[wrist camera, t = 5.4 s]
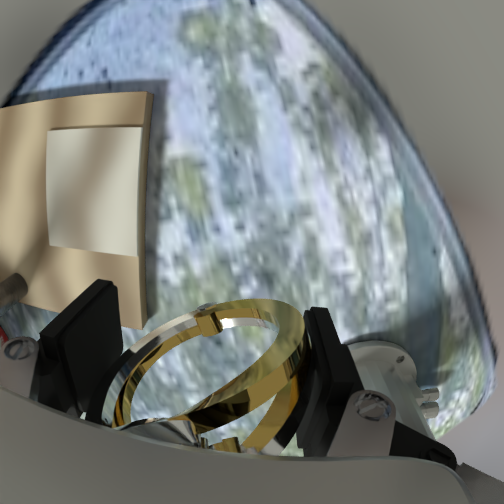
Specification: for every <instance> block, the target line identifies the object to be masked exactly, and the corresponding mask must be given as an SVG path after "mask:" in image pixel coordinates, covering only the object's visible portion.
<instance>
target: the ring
mask: <svg viewBox="0 0 504 504" xmlns="http://www.w3.org/2000/svg"><path fill="white" fill-rule="evenodd" d="M234 326H259V327H264V328H268V329H271V330H273V331H275V332H277V333H278V336H277V338H276V339H275V341H274V343H273V344H272V345H271V346H270V348H269V349H268V350H267V351H266V352H265V353H264V354H263V355H262V356H261V357H260V358H259V359H258V360H257V361H256V362H255V363H254V364H252V365H251V366H250V367H249V368H248V369H246V370H245V371H244V372H243V373H241V374H240V375H239V376H237V377H236V378H235V379H233V380H232V381H230V382H229V383H228V384H226V385H225V386H223V387H222V388H220V389H219V390H217V391H216V392H214V393H213V394H211V395H210V396H208V397H207V398H205V399H203V400H202V401H200V402H199V403H197V404H195V405H194V406H192V407H190V408H189V409H187V410H185V411H183V412H181V413H179V414H177V415H175V416H172V417H170V418H148V419H142V420H138V421H134V422H131V417H130V410H131V402H132V398H133V395H134V392H135V390H136V388H137V386H138V384H139V382H140V380H141V379H142V377H143V376H144V374H145V373H146V372H147V370H148V369H149V368H150V367H151V366H152V365H153V364H154V363H155V362H156V361H157V360H158V359H159V358H160V357H161V356H162V355H164V354H165V353H166V352H168V351H169V350H171V349H172V348H174V347H175V346H177V345H179V344H180V343H182V342H184V341H186V340H188V339H191V338H193V337H195V336H198V335H201V334H202V335H203V336H204V337H207V336H212V335H216V334H218V333H220V332H222V330H223V328H227V327H234ZM314 379H315V358H314V352H313V348H312V344H311V340H310V336H309V334H308V331H307V329H306V326H305V322H304V319H303V317H302V315H301V314H300V312H299V311H298V310H297V309H296V308H294V307H293V306H291V305H289V304H287V303H285V302H281V301H278V300H272V299H244V300H236V301H230V302H225V303H220V304H217V302H210V303H206V304H203V305H201V306H199V307H198V308H197V310H195V311H192V312H190V313H187V314H185V315H182V316H180V317H178V318H176V319H173V320H171V321H169V322H167V323H166V324H164V325H162V326H160V327H158V328H157V329H155V330H153V331H152V332H150V333H149V334H147V335H146V336H144V337H143V338H141V339H140V340H139V341H137V342H136V343H135V344H134V345H132V346H131V347H130V348H129V349H128V350H126V351H125V352H124V353H123V354H122V355H121V356H120V357H119V358H118V359H117V360H116V361H115V362H114V363H113V364H112V365H111V366H110V368H109V369H108V370H107V371H106V372H105V374H104V376H103V377H102V379H101V380H100V382H99V384H98V385H97V387H96V388H95V390H94V392H93V395H92V397H91V400H90V402H89V405H88V409H87V412H86V417H85V420H86V421H89V422H92V423H96V424H99V425H102V426H105V427H109V428H112V429H115V430H119V431H123V432H126V433H130V434H134V435H138V436H142V437H146V438H151V439H155V440H160V441H164V442H169V443H174V444H179V445H185V446H191V447H197V448H203V449H210V450H217V451H225V452H234V453H244V454H255V455H270V456H279V455H280V453H281V452H282V451H283V450H284V449H285V447H286V446H287V445H288V443H289V442H290V440H291V439H292V437H293V436H294V434H295V433H296V431H297V429H298V427H299V425H300V423H301V421H302V419H303V417H304V415H305V412H306V409H307V407H308V404H309V401H310V397H311V394H312V389H313V385H314ZM276 393H277V395H276V397H275V399H274V401H273V403H272V404H271V406H270V408H269V410H268V411H267V413H266V415H265V416H264V418H263V419H262V420H261V422H260V423H259V425H258V426H257V427H256V428H255V430H254V431H253V432H252V433H251V434H250V436H249V437H248V438H247V439H246V440H245V441H244V442H243V443H242V444H241V445H240V444H239V441H238V437H232V438H227V439H223V440H222V442H221V443H216V444H213V445H210V446H209V444H208V440H207V439H206V438H203V437H201V434H202V433H205V432H207V431H210V430H213V429H216V428H218V427H220V426H223V425H225V424H227V423H230V422H232V421H234V420H236V419H238V418H240V417H242V416H244V415H245V414H247V413H249V412H251V411H252V410H254V409H255V408H257V407H259V406H260V405H262V404H263V403H265V402H266V401H267V400H269V399H270V398H271V397H273V396H274V395H275V394H276Z"/></svg>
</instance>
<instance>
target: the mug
mask: <svg viewBox="0 0 504 504" xmlns="http://www.w3.org/2000/svg"><path fill="white" fill-rule="evenodd" d="M7 341H8V338H7V336H6V334H5V332H4V331H3V329H2V328H1V327H0V349H1V347H2V346H3V344H4V343H6V342H7Z"/></svg>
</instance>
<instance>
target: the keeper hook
mask: <svg viewBox="0 0 504 504" xmlns="http://www.w3.org/2000/svg"><path fill="white" fill-rule="evenodd" d="M27 293H28V286H27V283H26V281H25V279H24V278H23V277H22V276H21V275H20V274H18V273H13V274H12V275H10V276H9V277H8V278H6V279H5V280H3V281H2V282H0V317H1V316H2V315H3V314H5V313H6V312H7V311H8V310H9V309H10V308H11V307H13V306H14V305H15V304H16V303H17V302H19V301H20V300H21V299H22V298H23V297H24V296H26V295H27Z"/></svg>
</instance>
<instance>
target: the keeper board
mask: <svg viewBox="0 0 504 504" xmlns="http://www.w3.org/2000/svg"><path fill="white" fill-rule="evenodd" d="M153 97H154V94H152V93H149V92H147V91H144V92H119V93H103V94H91V95H81V96H72V97H64V98H56V99H49V100H43V101H37V102H31V103H25V104H20V105H15V106H10V107H5V108H1V109H0V282H2V281H3V280H5V279H6V278H8V277H9V276H10V275H12V274H13V273H18V274H20V275H21V276H22V277H23V278H24V279H25V281H26V283H27V286H28V293H27V295H26V296H24V297H23V298H22V299H21V300H20V301H19V302H20V303H23V304H27V305H30V306H34V307H38V308H42V309H46V310H50V311H54V312H58V313H61V312H62V311H63V310H64V309H65V308H66V307H67V306H68V305H69V304H70V303H71V302H72V301H74V300H75V299H76V298H77V297H78V296H79V295H80V294H81V293H82V292H83V291H84V290H86V289H87V288H88V287H89V286H90V285H91V284H92V283H93V282H94V281H96V280H97V279H103V280H109V281H112V282H113V284H114V285H116V286H117V288H118V299H119V311H120V321H121V326H123V327H128V328H133V329H139V330H143V328H144V326H145V324H146V322H147V303H146V278H145V205H146V180H147V162H148V148H149V136H150V125H151V115H152V106H153Z"/></svg>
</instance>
